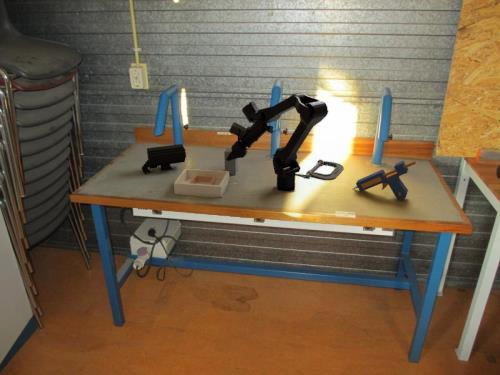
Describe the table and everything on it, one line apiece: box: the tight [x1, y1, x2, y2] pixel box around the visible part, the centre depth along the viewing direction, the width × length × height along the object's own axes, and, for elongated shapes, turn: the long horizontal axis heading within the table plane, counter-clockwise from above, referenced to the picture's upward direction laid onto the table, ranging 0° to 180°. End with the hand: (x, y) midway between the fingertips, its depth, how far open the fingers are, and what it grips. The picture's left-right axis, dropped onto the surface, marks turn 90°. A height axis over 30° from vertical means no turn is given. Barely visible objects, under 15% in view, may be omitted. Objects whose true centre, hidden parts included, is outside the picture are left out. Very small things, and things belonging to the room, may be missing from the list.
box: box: [173, 168, 230, 198], centre depth 153 cm, size 18×14×4 cm
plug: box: [223, 147, 239, 176], centre depth 165 cm, size 4×4×10 cm
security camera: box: [141, 143, 187, 175], centre depth 168 cm, size 7×18×10 cm, turn 111°
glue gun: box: [352, 160, 417, 201], centre depth 145 cm, size 5×25×12 cm
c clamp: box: [295, 159, 345, 181], centre depth 168 cm, size 20×17×3 cm
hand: (229, 155), depth 164 cm, fingers open, 9 cm apart
